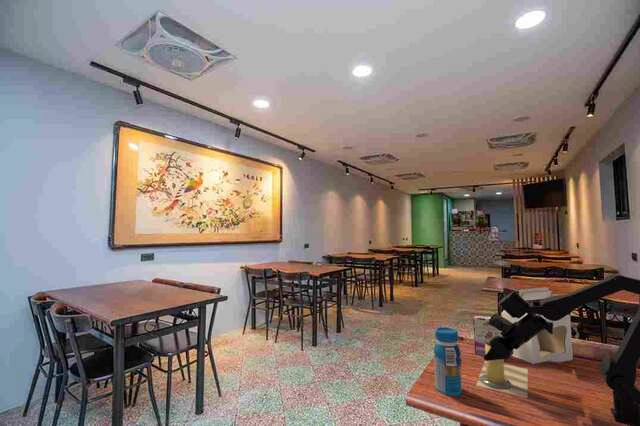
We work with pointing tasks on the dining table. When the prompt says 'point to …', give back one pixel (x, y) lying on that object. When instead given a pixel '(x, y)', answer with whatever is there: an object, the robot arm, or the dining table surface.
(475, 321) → the candy bar box
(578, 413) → the dining table surface
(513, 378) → the base board
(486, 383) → the slate seat
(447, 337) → the beverage bottle
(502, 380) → the yellow cylinder
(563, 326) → the gable box
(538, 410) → the dining table surface
